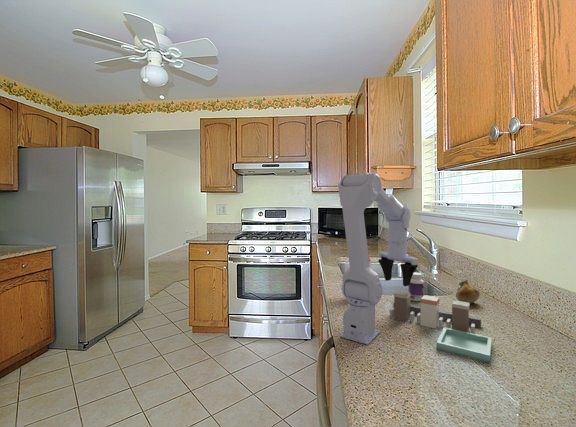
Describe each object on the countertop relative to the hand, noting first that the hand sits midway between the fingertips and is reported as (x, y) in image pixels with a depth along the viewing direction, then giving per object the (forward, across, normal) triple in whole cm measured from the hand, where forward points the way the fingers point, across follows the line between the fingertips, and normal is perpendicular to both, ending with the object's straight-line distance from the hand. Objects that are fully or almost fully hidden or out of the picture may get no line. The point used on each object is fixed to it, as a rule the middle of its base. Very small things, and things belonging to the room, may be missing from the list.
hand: (396, 282), depth 99 cm
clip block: (+10, -10, -4) cm, 15 cm away
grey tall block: (+10, -12, -1) cm, 15 cm away
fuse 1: (+10, -4, +2) cm, 11 cm away
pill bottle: (+10, +6, -17) cm, 21 cm away
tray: (+10, -25, +4) cm, 27 cm away
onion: (+10, -6, -29) cm, 31 cm away
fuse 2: (+10, -19, -4) cm, 22 cm away
